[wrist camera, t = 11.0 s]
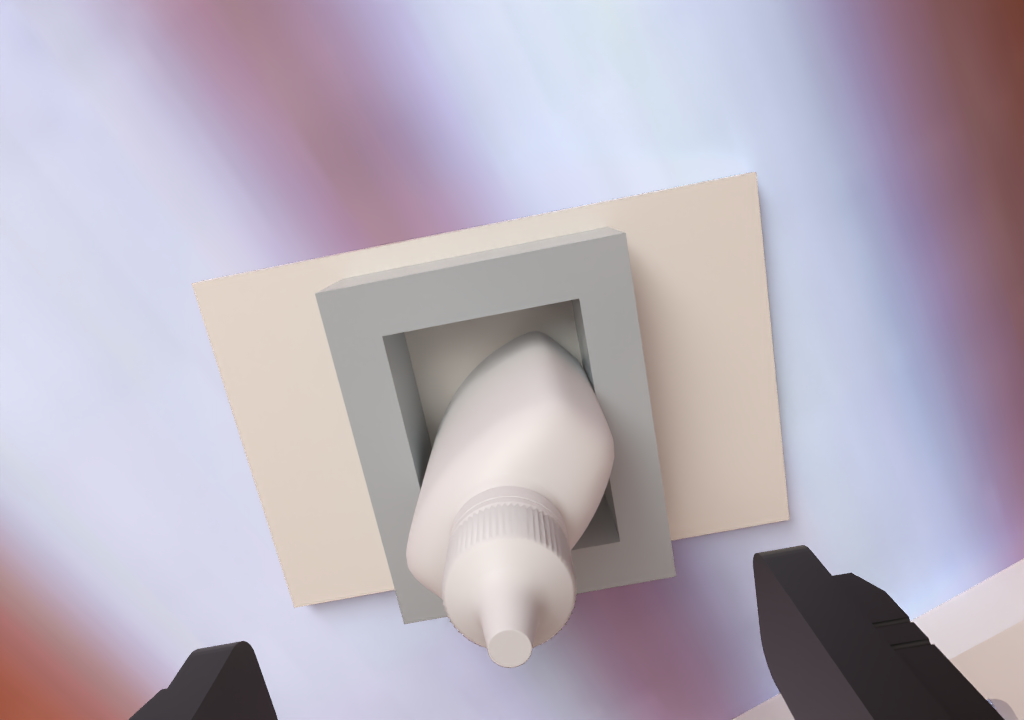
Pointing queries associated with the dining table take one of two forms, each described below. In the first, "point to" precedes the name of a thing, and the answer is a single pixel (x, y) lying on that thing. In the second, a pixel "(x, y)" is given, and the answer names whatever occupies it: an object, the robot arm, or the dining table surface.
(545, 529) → the eye dropper bottle
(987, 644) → the holder
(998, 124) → the dining table surface
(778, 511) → the holder stand
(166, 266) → the dining table surface
